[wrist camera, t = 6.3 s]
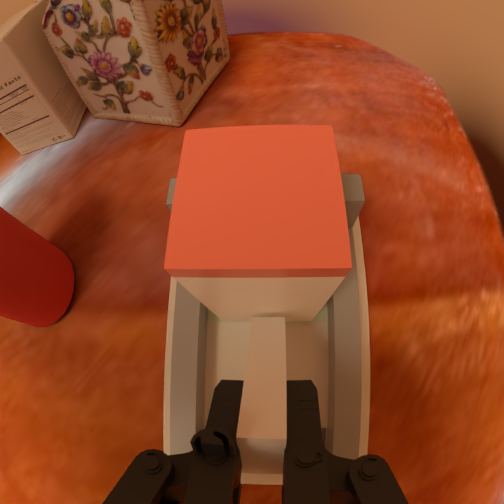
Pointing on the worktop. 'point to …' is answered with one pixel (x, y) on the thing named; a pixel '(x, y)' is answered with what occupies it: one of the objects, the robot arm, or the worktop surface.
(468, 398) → the worktop surface
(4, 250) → the beer can
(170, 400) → the grey tray
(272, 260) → the block
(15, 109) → the supplement box
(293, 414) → the robot arm
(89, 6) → the decorative jar
